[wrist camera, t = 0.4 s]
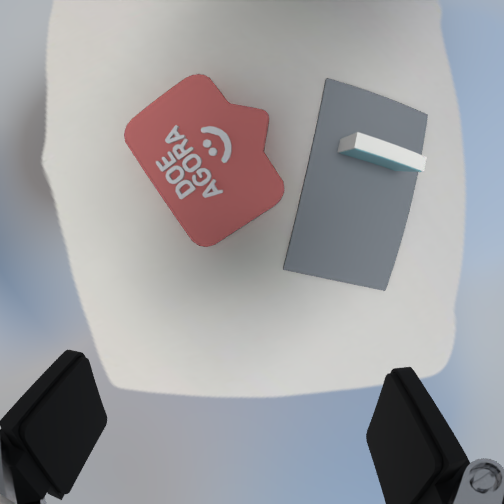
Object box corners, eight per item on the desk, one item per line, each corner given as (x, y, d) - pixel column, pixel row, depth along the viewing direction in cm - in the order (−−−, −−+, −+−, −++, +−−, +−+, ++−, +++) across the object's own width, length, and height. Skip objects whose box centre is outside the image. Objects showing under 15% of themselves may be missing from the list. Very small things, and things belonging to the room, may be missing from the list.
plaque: (314, 180, 32) (200, 255, 34) (308, 180, 35) (206, 247, 38) (221, 52, 28) (115, 130, 31) (225, 63, 32) (129, 133, 35)
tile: (340, 139, 33) (357, 132, 26) (399, 158, 33) (426, 157, 26) (337, 152, 34) (354, 148, 27) (396, 171, 34) (423, 172, 27)
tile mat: (326, 79, 32) (326, 78, 31) (426, 115, 32) (427, 114, 32) (283, 268, 38) (283, 269, 37) (383, 289, 38) (385, 290, 38)
